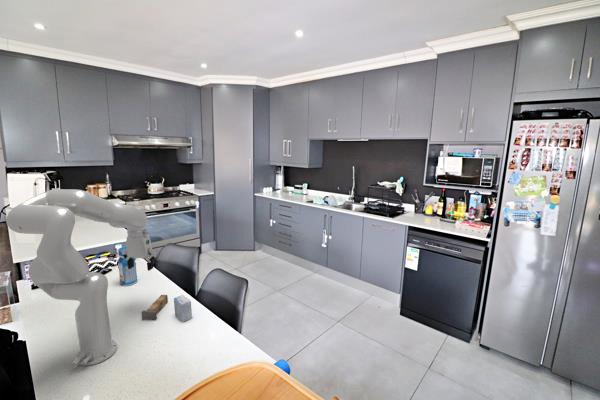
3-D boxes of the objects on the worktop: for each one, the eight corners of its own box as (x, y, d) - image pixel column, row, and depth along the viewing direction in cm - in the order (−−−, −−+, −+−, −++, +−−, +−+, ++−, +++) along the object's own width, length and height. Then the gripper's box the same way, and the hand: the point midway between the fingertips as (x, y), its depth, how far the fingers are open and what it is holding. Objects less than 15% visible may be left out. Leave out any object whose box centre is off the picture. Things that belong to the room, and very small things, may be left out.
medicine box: (192, 318, 129) (191, 300, 127) (182, 322, 126) (181, 304, 124) (184, 311, 134) (183, 294, 132) (174, 315, 131) (173, 297, 129)
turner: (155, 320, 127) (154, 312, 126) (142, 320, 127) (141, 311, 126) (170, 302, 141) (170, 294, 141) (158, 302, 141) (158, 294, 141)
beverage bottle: (132, 286, 156) (128, 251, 152) (116, 286, 156) (112, 251, 152) (140, 279, 164) (137, 246, 160) (126, 279, 164) (122, 245, 160)
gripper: (160, 231, 133) (163, 266, 136) (125, 229, 135) (129, 264, 138) (149, 237, 125) (153, 273, 129) (113, 234, 128) (117, 270, 131)
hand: (140, 268), depth 134 cm, fingers open, 9 cm apart
